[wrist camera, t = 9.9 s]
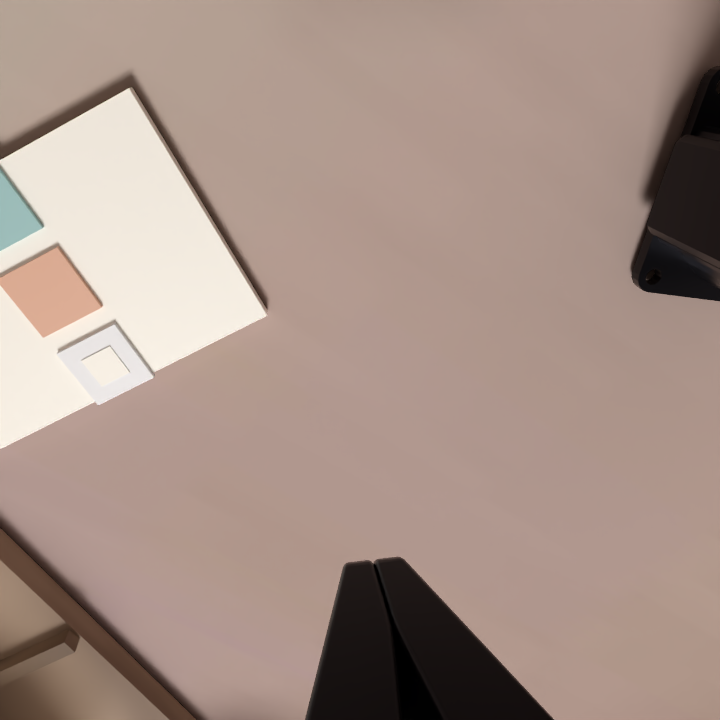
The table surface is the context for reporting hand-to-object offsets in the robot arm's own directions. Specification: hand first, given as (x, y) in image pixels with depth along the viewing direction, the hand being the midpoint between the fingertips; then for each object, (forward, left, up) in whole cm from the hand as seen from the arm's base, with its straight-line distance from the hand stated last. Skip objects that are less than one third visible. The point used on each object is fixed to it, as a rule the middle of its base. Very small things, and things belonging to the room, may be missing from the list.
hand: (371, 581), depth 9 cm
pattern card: (+8, +1, -12) cm, 14 cm away
